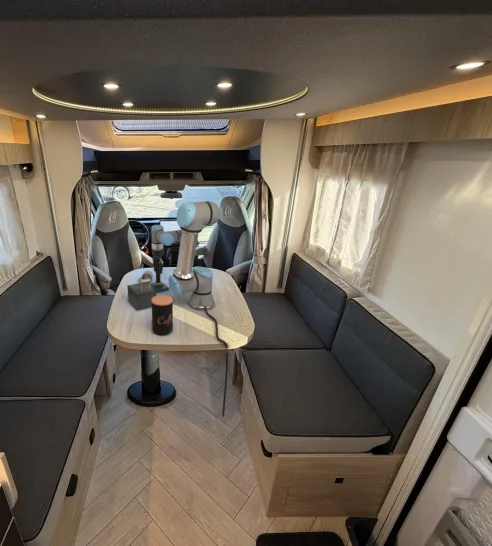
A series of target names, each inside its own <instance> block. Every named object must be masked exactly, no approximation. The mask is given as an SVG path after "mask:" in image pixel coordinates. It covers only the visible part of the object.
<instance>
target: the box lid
mask: <svg viewBox="0 0 492 546" xmlns="http://www.w3.org/2000/svg"><path fill="white" fill-rule="evenodd" d="M150 281H151V279H150V278H148V279H143V280H140V282H138V283H133V284H128V285H127V286H126V288H127V287H128V288H129V289H130V290H132V291H133V292H134V293H135V294H136V295H137V296H140V295H144V294H149V293H153V292H157V290H156V289H155V288H153V287H152V286H151V285H150V284H151V282H152V281H151V282H150ZM147 282H149V283H147Z"/></svg>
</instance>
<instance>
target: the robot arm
mask: <svg viewBox="0 0 492 546" xmlns="http://www.w3.org/2000/svg"><path fill="white" fill-rule="evenodd" d="M175 216H176V224H177V226H179V229H177V230H169V231H165V230H164V225H163V224H154V225H152V226H151V255H152V257H151V259H152V266H153V272H154V273H155V282H156V283H161V282H162V281H161V275H162V274H163V271H164V264H165V261H163V257H162V256H164V246H167V247H168V246H171V245H172V244H175V243H179V244H180V245H179V249H178V256H177V257H178V258H177V263H176V267H175V268H174V269H173V272H172V274H171V275H169V276H168V279H167V281H168V287H169V290H170V291H171V293H172V294H173V295H175V296H179V295H184V294H189V293H191V295H190V297H189V300H188V305H189V306H190V307H191V308H193V309H195V310H199V311H205V313H206V315H207V316H208V317H209V318H210V319H212V320H213V321H214V323H215V335H216V336H215V337H216V339H217V340H218V341H219V342H221V343H223V344H224V345H225V348H226V349H228V348H229V345H228V343H227V342H226V341H225V340H223V339H221V337H219V329H218V321H217V319H216V318H215V317H214V316H212V315H211V314H210V313H209V312H208V310H210V309H213V307H214V306H215V300H214V296H213V293H212V292H213V278H214V277H213V275H214V273H213V270H211V269H210V268H208V267H204V266H194V261H195V256H196V249H197V245H198V239H199V234H200V233H202V232H203V230H204V229H205V228H207V227H211V226H213V225H215V224H216V223H217V222H219V220H220V218H221V209H220V207H219V206H218V204H217V203H215V202H213V201H211V200H206V201H189V202H185V203H182V204H181V205H179V206H178V208H177V212H176V215H175ZM228 369H229V352H226V353H225V375H224V376H225V377H224V389H223V401H222V403H223V404H222V412H221V413H222V414H221V417H223V418H224V417H225V412H226V411H225V409H226V397H227V386H228V373H229V372H228V371H229V370H228Z"/></svg>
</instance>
